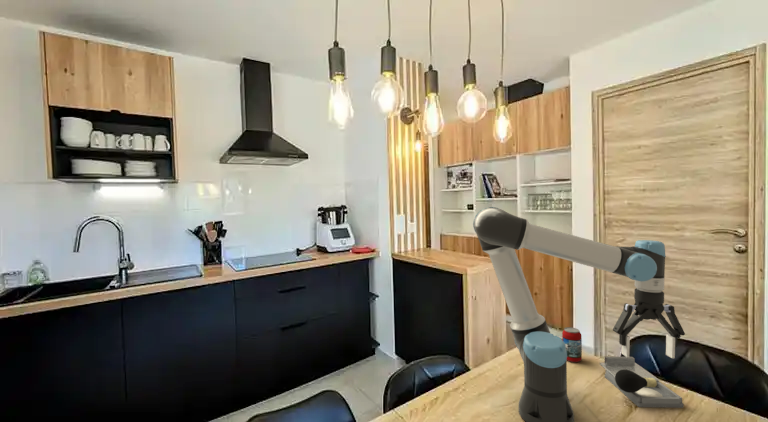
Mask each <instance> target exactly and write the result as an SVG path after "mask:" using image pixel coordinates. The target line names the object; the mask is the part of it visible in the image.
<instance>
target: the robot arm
mask: <svg viewBox="0 0 768 422" xmlns="http://www.w3.org/2000/svg"><path fill="white" fill-rule="evenodd" d="M472 225H473V230H474V232H475V234H476V235H477V239H478V241H479V244H480V247H481V250H482V252H483V253H486V254H488V256H489V259H490V261H491V264H492V267H493V270H494V272H495V275H496V278H497V281H498V283H499V284H498V285H499V287H500V289H501V292H502V295H503V298H504V300H505V302H506V305H507V308H508V311H509V314H510V316H511V319H512V320H511V322H510V323H509V327H510V330H511V333H512V335H513V340H514V343H515V346H516V348H517V350H518V352H519V355H520V356H521V357H520V358H521V360H522V362H523V377H524V378H523V379H524V380H523V383H524V384H523V385H524V386H523V390H522V393H521V395H520V398H519V401H518V413H519V416H520V417H521V418H522V420H524V421H525V422H575V413H574V411H573V410H574V409H573V408H572V405H571V402H570V399H569V396H568V376H567V375H568V374H567V373H568V372H567V371H568V370H567V369H568V368H567V367H568V366H567V351H566V346H565V343H564V342H563V340H562V338H561V337H559V335H554V334H553V333H551V331H550V328H549V326H548V323H547V320H546V318H545V317H544V316H543V315H542V314H540V313H538V310H537V306H536V304H535V302H534V298H533V296H532V293H531V291H530V288H529V284H528V282H527V280H526V277H525V274H524V270H523V268H522V265H521V263H520V260H519V258H518V255H517V253H516V250H517V251H519V250H521V249H527V250H529V251H533V252H537V253H540V254H543V255H547V256H552V257H554V258H559V259H562V260H566V261H569V262H573V263H577V264H580V265H584V266H587V267H591V268H594V269H597V270H601V271H605V272H609V273H611V274H615V275H618V276H623V277H626V278H629V279H630V280H633V281H634V287H635V288H634V295H633V297H634V304H629V303H624V304H623V310H622V311H621V314H620V315H619V316H618V319H617V321H616V322H615V324H614V327H613V328H612V331H613V332H615V334H617V335H619V338H618V339H619V341H618V342H619V344H620V345H621V354H622V356H623V357H630V346H631V345H630V343H631V341H630V336H629V334H630V333H631V332H632V331H633V329H634V328H635V327H636V326H637V325H638V324H639V323H640V322H642V321H643V320H653V321H656V320H657V321H658V322H659V323H660V325H661V326H662V328H664V329H665V331H666V332H667V333H668V334H666V336H665V356H667V357H669V358H671V359H675V358H676V357H675V356H676V348H677V346H678V339H680V338H681V337H682V336H685V334H686V333H685V331H684V329H683V327H682V324H681V322H680V321H679V318H678V317H677V315H676V312H675V307H674V306H673V305H671V304H668V303H665V292H664V290H665V271H666V267H665V266H666V257H667V256H666V245H665V244H664V242H663V241H659V240H650V239H638V240H636V241H635V244H634V246H633V245H632V246H618V245H617V246H614V245H610V244H606V243H603V242H599V241H596V240H592V239H588V238H585V237H582V236H581V237H580V236H577V235H573V234H571V233H566V232H561V231H558V230H555V229H551V228H547V227H543V226H540V225H536V224H533V223H532V224H531V223H530V222H529V220H528V219H526V218H522V217H519V216H516V215H513V214H511V213H509V212H507V211H505V210H504V209H500V208H498V207H494V206H490V207H489V206H488V207H485V208H482V209H481V210H480V211H478V212H477V213H476V215H475V217H474V219H473V223H472ZM663 312H665V315H666V316H667V319H668V320H669V322H668V320H666V317H665V316H664V315H663V314H662V313H663Z"/></svg>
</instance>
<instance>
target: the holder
mask: <svg viewBox="0 0 768 422" xmlns="http://www.w3.org/2000/svg"><path fill="white" fill-rule="evenodd" d="M604 371H605V373H604V378H605V379H606V380H608V381H609V382H610V383H611V384H612V386H614V387H616V388H617V389H618V390H619V391H620V392H621V393H622V394H623V395H625V396H626V398H628V400H630V401H631V402H632V403H633V404H634V405H635V406H637V407H638V408H672V409H673V408H679V409H680V408H681V409H683V408H684V402H683V397H681V396H680V395H679V394H677V393H676V392H675V391H673V390H672V389H670V388H669V387H667V386H666V385H665V384H664V383H662V382H661V381H660V380H659V381H656V382H657V385H656V386H655V387H643V388H642V389H640V390H638V391H637V392H633V393H628V392H625V391H623V390H621V389H620V388H619V387H618V386H617V384H616V381H615V377H614V376H613V375H612V374H611V373H609V372H608V371H607V370H606V369H605V370H604Z"/></svg>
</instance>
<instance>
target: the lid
mask: <svg viewBox="0 0 768 422" xmlns="http://www.w3.org/2000/svg"><path fill="white" fill-rule="evenodd" d="M599 365H600V366H601V367H602V368H604V369H605V370H607V371H608V372H609V373H611V374H612V375H613V376H614V377H615V375H616V373H617V372H618V371H619V370H624V369H626V370H630V371H632V372H634V373H636V374H638V375H639V376H641V377H644V378H654V379H655V380H656V381H659V382H660V380H659V378H657V377H656V376H655V375H653V374H652V373H651V372H649V371H648V370H647V369H645V368H643V367H642V366H641V365H639V364H638V363H636V362H635V358H634V357H633V356H629V357H626V356H607V355H606V356H604V362H599Z"/></svg>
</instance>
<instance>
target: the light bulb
mask: <svg viewBox="0 0 768 422" xmlns="http://www.w3.org/2000/svg"><path fill="white" fill-rule="evenodd" d="M615 381H616V384H617V386H618V387H619V388H620V389H621V390H623V391H625V392H628V393H633V392H637V391H638V390H640V389H642V388H643V387H655V386H656V385H657V382H656V380H655V379H654V378H644V377H641V376H639V375H638V374H636V373H634V372H632V371H630V370H626V369H624V370H619V371H618V372H617V373H616V375H615Z"/></svg>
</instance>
